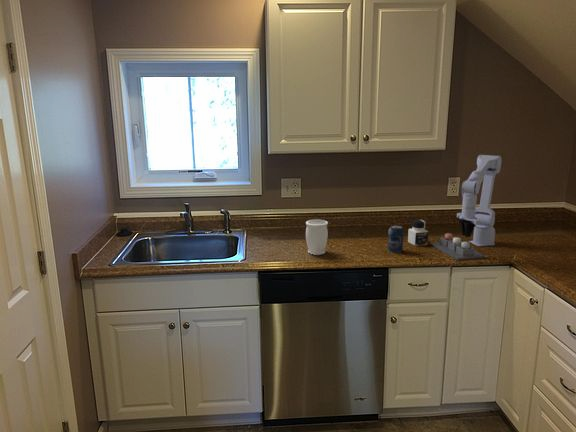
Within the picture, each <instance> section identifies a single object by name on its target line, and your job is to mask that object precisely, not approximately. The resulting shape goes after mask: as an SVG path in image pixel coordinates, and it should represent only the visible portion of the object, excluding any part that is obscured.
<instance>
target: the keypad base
mask: <svg viewBox="0 0 576 432" xmlns="http://www.w3.org/2000/svg"><path fill="white" fill-rule="evenodd" d="M453 238H454V237H453ZM453 238H452V240H445V236H444V237H443V236H441V237H439V241H436V242H435V241H434V242H432V241H431V242H429V245H430V246H432V247H433V248H435V249H437V250H439V252H442V253H443V254H445V255H446V256H448V257H451V258H452V259H454V260H455V261H465V260H476V259H478V260H479V259H485V258H486V255H485V254H482V253H480V252H479V251H477V250H475V248H474V247H472V246H470V248H469V249H462V248H461V244H457V245H455V244H453ZM462 242H463V241H461V243H462Z"/></svg>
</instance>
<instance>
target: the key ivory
mask: <svg viewBox="0 0 576 432" xmlns="http://www.w3.org/2000/svg"><path fill="white" fill-rule="evenodd" d="M461 242H462V238H461V237H453V244H455V245H457V244H461Z"/></svg>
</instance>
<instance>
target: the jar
mask: <svg viewBox="0 0 576 432" xmlns="http://www.w3.org/2000/svg"><path fill="white" fill-rule="evenodd" d="M328 222H329V221H327V220H324V219H309V220H306V222H305V225H306V228H305V240H306V241H305V242H306V246H307V247H308V250H307V253H308V254H309V253H310V254H311V255H312V254H313V255H314V256H321V255H324V254H325V253H326V250H325V249H326V247H327V241H328V235H329V234H328V233H329V232H328V224H329V223H328ZM310 254H309V255H310Z"/></svg>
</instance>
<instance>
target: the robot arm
mask: <svg viewBox="0 0 576 432" xmlns="http://www.w3.org/2000/svg"><path fill="white" fill-rule="evenodd" d="M476 166H477V167H476V170H474V171H472V172H471V174H469V177H468V178H467V179H466V180H464V181H463V182H462V184H461V196H462V206H461V212H457V213H456V218H458V219H459V220H458V223H459V225H460V230H461V234H462V236H464V237H465V238H470V237H471V236H472V233H473V237H472V240H468V242H469V243H470V244H473V245H475V246H477V247H485V246H486V247H487V246H495V245H496V244H495V239H496V237H495V236H496V229H495V228H494V225H495V220H496V217H495V216H496V212H495V211H494V209H492V208H491V201H492V195H493V190H494V183H495V178H496V175H497V174H500V172H501V167H502V157H501V156H500V155H489V154H479V155H478V156H477V158H476ZM481 184H482V188H481ZM480 189H481V193H480V194H481V195H480V201H479V206H478V207H477V201H478V200H477V199H478V194H479V192H480Z"/></svg>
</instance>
